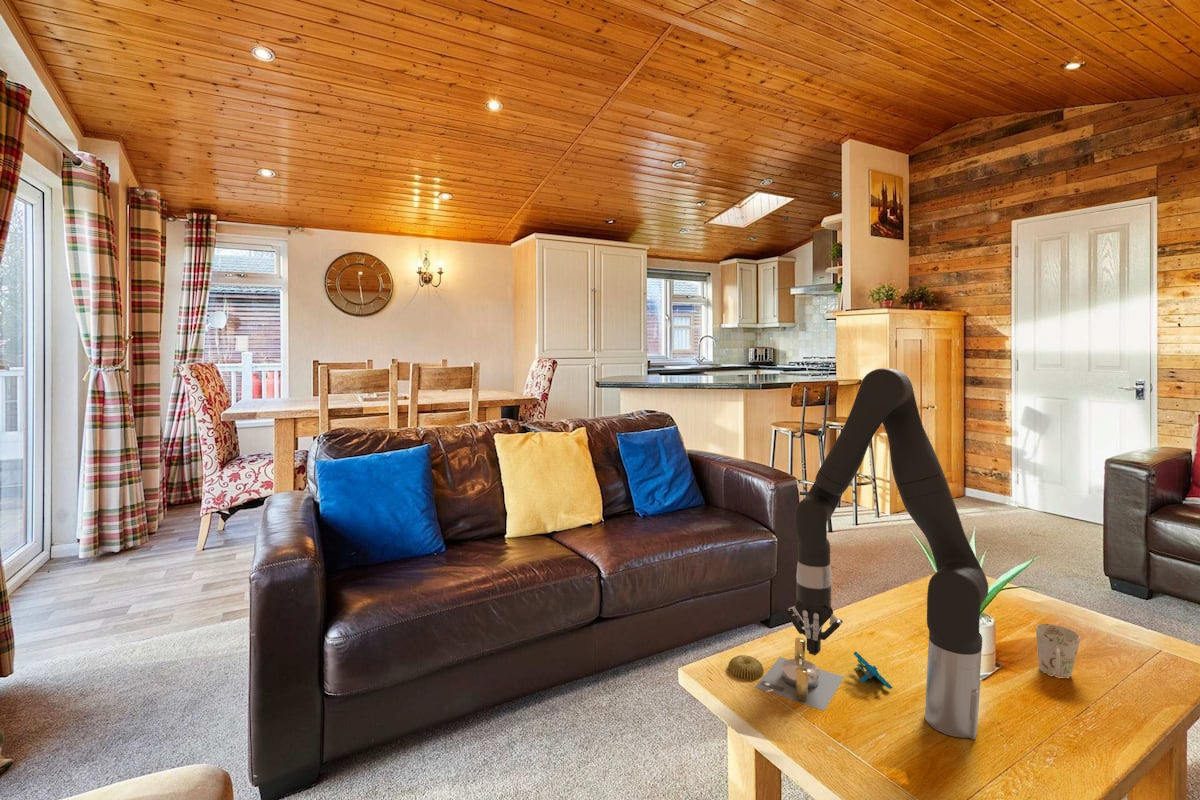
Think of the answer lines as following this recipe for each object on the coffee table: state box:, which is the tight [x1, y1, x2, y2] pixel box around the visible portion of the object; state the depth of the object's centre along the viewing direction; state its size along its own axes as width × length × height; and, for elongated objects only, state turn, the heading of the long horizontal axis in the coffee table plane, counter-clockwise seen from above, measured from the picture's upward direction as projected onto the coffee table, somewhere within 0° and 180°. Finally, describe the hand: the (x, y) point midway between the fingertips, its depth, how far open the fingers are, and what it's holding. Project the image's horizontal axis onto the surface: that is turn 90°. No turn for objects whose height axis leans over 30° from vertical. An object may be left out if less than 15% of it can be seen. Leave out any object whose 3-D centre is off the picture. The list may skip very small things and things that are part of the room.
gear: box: [853, 651, 893, 689], centre depth 137 cm, size 11×6×10 cm
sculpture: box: [728, 654, 764, 681], centre depth 141 cm, size 8×4×8 cm
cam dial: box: [782, 637, 820, 701], centre depth 136 cm, size 16×8×6 cm, turn 163°
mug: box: [1035, 623, 1081, 678], centre depth 141 cm, size 8×13×10 cm, turn 148°
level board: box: [755, 656, 845, 712], centre depth 136 cm, size 15×18×2 cm
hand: (813, 653), depth 140 cm, fingers closed
